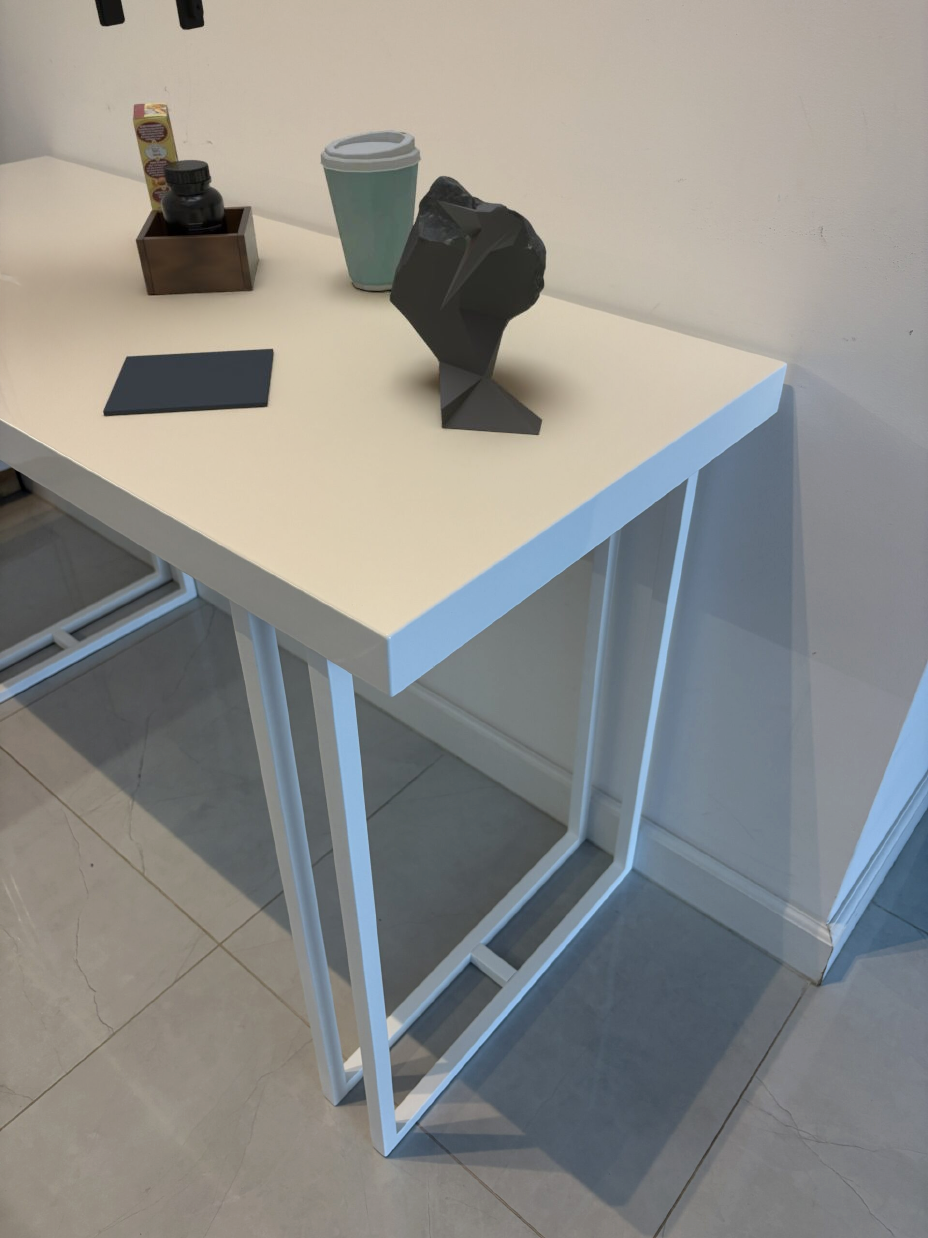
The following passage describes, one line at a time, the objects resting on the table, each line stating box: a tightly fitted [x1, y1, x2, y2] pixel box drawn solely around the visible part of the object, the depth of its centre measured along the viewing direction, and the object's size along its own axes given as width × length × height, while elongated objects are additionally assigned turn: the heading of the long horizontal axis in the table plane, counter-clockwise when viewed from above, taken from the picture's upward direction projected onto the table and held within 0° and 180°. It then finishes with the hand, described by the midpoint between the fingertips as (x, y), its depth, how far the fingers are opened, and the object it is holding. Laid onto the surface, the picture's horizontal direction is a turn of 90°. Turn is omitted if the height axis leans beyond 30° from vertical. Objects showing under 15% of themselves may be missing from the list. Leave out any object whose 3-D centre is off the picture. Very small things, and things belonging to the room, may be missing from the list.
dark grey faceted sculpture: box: [389, 175, 547, 435], centre depth 79 cm, size 14×15×18 cm
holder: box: [135, 205, 260, 296], centre depth 107 cm, size 12×12×6 cm
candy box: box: [132, 102, 179, 211], centre depth 114 cm, size 9×4×15 cm, turn 15°
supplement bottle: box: [161, 159, 229, 236], centre depth 106 cm, size 7×7×12 cm
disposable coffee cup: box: [320, 129, 422, 292], centre depth 102 cm, size 11×11×15 cm
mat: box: [102, 348, 274, 416], centre depth 86 cm, size 14×12×1 cm
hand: (152, 26), depth 93 cm, fingers open, 9 cm apart
